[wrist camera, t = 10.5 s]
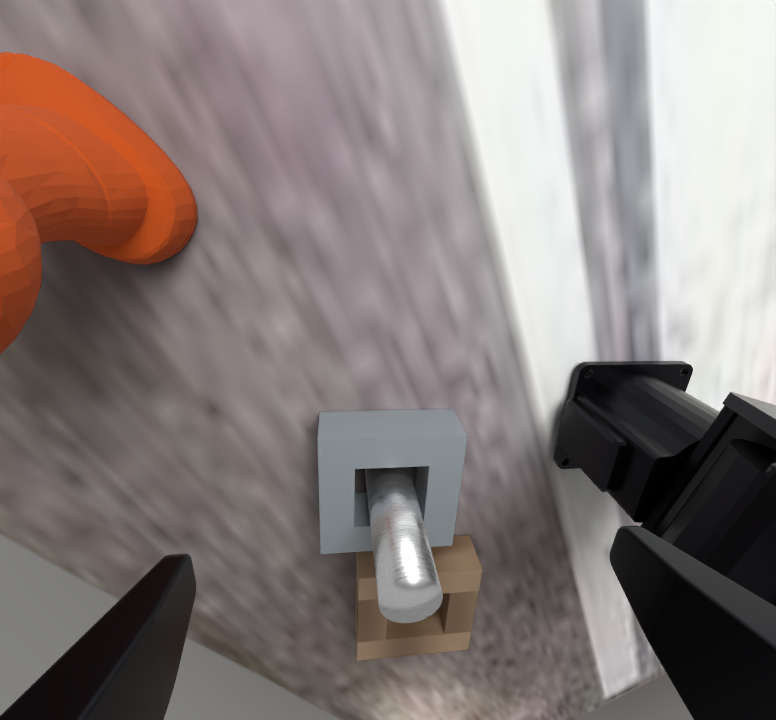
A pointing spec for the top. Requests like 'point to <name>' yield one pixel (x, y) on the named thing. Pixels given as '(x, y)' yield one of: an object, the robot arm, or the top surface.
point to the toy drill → (77, 182)
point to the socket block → (432, 633)
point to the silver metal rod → (401, 547)
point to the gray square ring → (387, 450)
